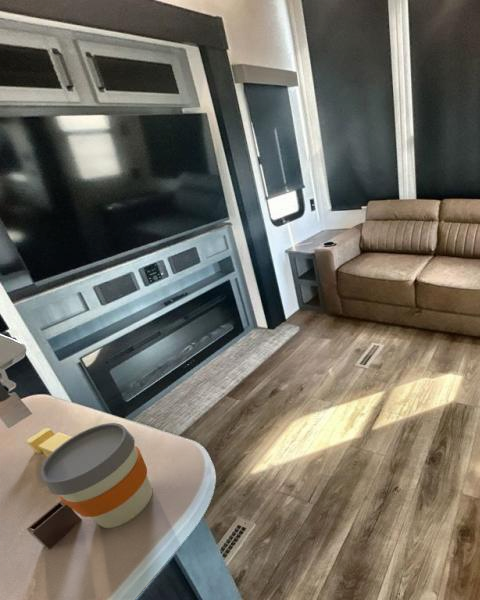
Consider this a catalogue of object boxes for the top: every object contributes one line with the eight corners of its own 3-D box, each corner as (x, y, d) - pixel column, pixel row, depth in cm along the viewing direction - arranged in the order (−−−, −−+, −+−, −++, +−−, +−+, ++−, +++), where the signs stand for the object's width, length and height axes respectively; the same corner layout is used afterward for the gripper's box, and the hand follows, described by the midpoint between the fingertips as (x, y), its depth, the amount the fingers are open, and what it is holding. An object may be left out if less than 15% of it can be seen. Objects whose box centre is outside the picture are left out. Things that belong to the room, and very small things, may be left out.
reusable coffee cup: (177, 482, 72) (143, 428, 65) (116, 548, 62) (68, 492, 55) (134, 468, 76) (98, 416, 69) (70, 527, 66) (20, 473, 59)
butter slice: (58, 439, 86) (50, 429, 85) (39, 453, 83) (30, 442, 81) (54, 437, 87) (45, 427, 85) (34, 451, 84) (25, 440, 82)
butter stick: (84, 449, 83) (76, 438, 81) (65, 464, 79) (56, 453, 78) (66, 442, 85) (58, 432, 84) (46, 456, 82) (37, 445, 80)
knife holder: (49, 549, 63) (32, 532, 60) (42, 545, 63) (25, 529, 61) (81, 520, 67) (67, 503, 65) (75, 516, 68) (60, 500, 65)
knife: (11, 429, 73) (-27, 385, 67) (5, 426, 74) (-34, 382, 68) (35, 414, 76) (0, 371, 71) (28, 412, 77) (-7, 369, 71)
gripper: (-15, 335, 79) (48, 370, 82) (-150, 404, 61) (-62, 445, 64) (-11, 317, 76) (54, 354, 79) (-151, 383, 58) (-59, 427, 61)
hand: (1, 395), depth 71 cm, fingers closed on knife, 2 cm apart
